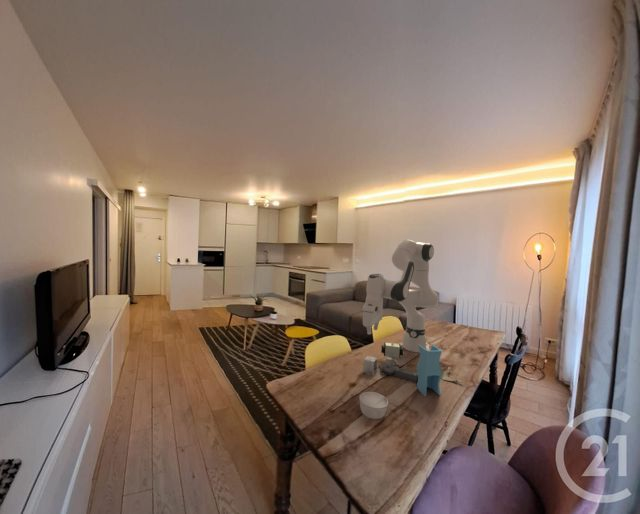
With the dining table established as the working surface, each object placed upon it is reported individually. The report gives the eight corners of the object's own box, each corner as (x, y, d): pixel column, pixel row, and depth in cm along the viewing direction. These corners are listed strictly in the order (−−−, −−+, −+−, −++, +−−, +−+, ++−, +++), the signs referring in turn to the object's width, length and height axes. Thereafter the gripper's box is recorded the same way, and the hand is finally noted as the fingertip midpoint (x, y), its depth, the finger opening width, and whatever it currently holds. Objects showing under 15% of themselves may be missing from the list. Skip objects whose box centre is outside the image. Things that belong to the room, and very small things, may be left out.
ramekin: (388, 423, 99) (389, 409, 99) (358, 418, 101) (358, 405, 100) (386, 406, 110) (387, 393, 110) (358, 402, 112) (359, 389, 111)
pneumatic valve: (402, 366, 148) (403, 345, 147) (380, 364, 150) (382, 342, 150) (401, 362, 153) (402, 342, 153) (380, 360, 156) (381, 339, 155)
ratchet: (383, 367, 146) (384, 353, 146) (431, 380, 133) (432, 366, 133) (378, 372, 139) (379, 358, 139) (428, 387, 126) (429, 372, 126)
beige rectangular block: (366, 368, 143) (367, 355, 143) (376, 371, 140) (377, 358, 140) (363, 372, 138) (363, 358, 138) (373, 375, 136) (374, 361, 135)
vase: (430, 385, 128) (433, 344, 128) (440, 394, 120) (443, 351, 120) (415, 386, 127) (417, 344, 126) (424, 395, 119) (427, 351, 118)
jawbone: (443, 385, 132) (443, 381, 132) (433, 367, 152) (433, 364, 152) (463, 386, 130) (463, 381, 130) (450, 368, 151) (450, 364, 151)
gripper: (374, 301, 149) (373, 326, 149) (360, 307, 131) (359, 335, 131) (386, 303, 145) (384, 328, 146) (373, 309, 128) (371, 338, 128)
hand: (372, 331), depth 139 cm, fingers open, 8 cm apart
